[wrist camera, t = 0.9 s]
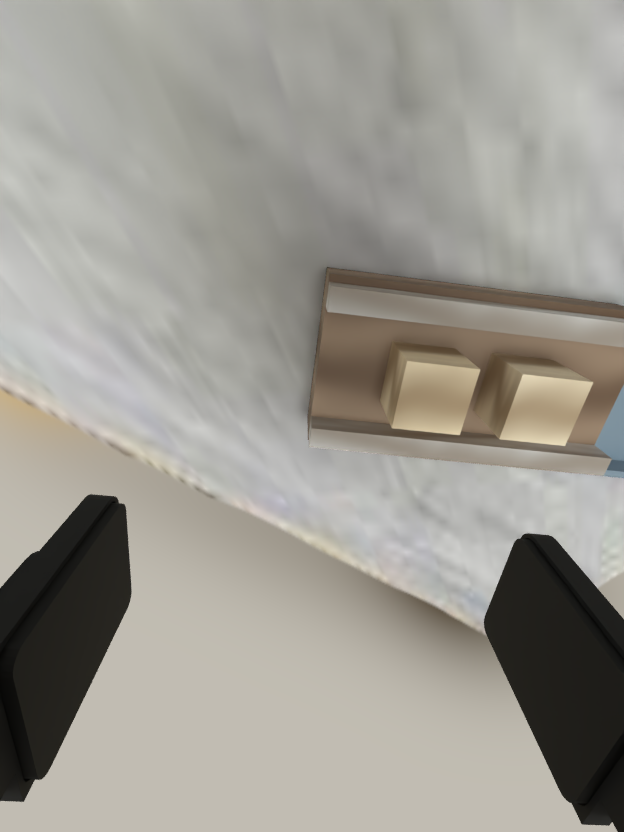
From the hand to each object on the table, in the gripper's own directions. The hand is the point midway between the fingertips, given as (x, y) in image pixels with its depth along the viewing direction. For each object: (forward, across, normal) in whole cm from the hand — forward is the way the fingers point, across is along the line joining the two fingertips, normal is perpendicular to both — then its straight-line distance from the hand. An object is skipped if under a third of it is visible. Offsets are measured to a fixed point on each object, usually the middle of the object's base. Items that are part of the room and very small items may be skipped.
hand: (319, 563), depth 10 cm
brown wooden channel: (+24, -12, 0) cm, 26 cm away
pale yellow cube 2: (+20, -15, 0) cm, 25 cm away
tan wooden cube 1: (+20, -8, 0) cm, 21 cm away
